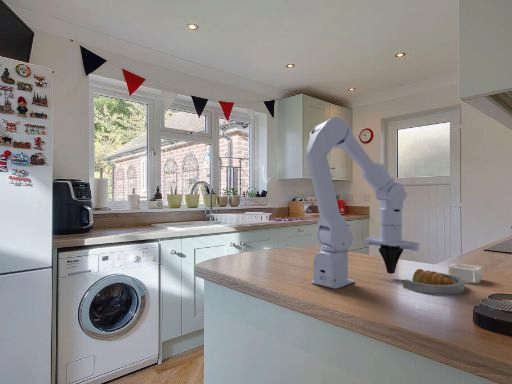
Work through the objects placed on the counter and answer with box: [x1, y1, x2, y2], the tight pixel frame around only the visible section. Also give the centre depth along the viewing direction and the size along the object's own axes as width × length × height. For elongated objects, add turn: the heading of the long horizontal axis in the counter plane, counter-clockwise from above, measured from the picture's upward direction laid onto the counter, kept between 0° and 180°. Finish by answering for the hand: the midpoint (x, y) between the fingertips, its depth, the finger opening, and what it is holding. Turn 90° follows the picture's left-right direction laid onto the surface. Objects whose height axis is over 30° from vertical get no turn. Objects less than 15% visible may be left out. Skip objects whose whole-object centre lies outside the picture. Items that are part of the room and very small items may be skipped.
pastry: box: [411, 268, 454, 285], centre depth 85 cm, size 9×7×4 cm
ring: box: [402, 271, 465, 296], centre depth 83 cm, size 15×12×2 cm
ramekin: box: [448, 263, 483, 284], centre depth 90 cm, size 7×7×4 cm
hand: (391, 272), depth 92 cm, fingers closed
